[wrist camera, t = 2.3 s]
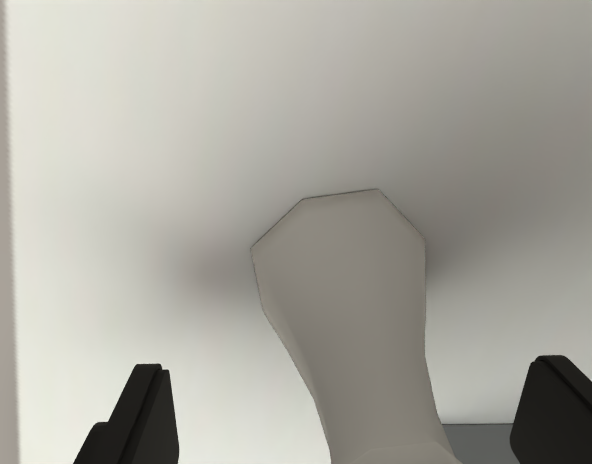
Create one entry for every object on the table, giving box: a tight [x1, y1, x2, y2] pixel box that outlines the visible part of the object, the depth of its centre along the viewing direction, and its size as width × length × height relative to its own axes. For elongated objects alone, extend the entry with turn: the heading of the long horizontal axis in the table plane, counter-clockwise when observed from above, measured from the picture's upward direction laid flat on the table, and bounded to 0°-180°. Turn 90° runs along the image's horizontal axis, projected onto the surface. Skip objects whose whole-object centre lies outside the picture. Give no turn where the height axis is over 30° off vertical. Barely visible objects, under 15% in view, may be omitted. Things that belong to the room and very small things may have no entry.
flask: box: [250, 189, 462, 464], centre depth 12 cm, size 7×7×10 cm
